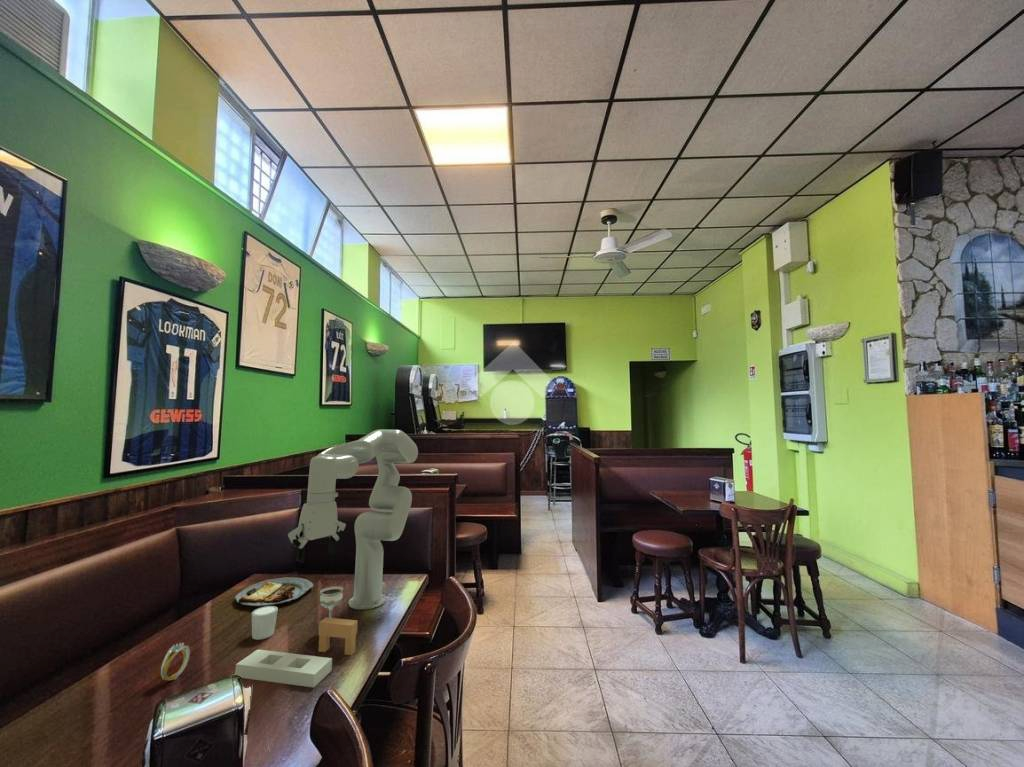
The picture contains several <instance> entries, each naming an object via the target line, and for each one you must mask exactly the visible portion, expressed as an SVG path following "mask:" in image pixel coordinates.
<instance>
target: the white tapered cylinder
mask: <svg viewBox="0 0 1024 767" xmlns="http://www.w3.org/2000/svg"><path fill="white" fill-rule="evenodd" d="M278 610H279V608H278V607H277V606H275V605H268V606H260V607H258V608H256V609H254V610H252V612H251V639H253V640H265V639H267V638H270V637H272V636H273V635H274V633H275V627H276V622H277V615H278Z"/></svg>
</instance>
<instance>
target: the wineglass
mask: <svg viewBox="0 0 1024 767" xmlns="http://www.w3.org/2000/svg"><path fill="white" fill-rule="evenodd" d="M343 590H344V587H342V586H341V585H340V586H339V585H333V586H332V585H331V586H326V587H324V588H322V589H320V591H319V592H320V596H319V597H318V598H319V603H320V605H321V606H322V607H323V608H325V609H327V610H328V618H332V614H333V613H332V612H333V609H334V608H335V607H337V606H339V605H340V603H341V602H342V600H343V597H344V592H343Z"/></svg>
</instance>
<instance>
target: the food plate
mask: <svg viewBox="0 0 1024 767" xmlns="http://www.w3.org/2000/svg"><path fill="white" fill-rule="evenodd" d="M313 587H314V583H313V582H311V581H310V580H309V579H306V578H301V577H297V576H296V577H295V576H293V577H290V576H288V577H285V576H284V577H280V578H270V579H267V580H266V579H265V580H261V581H260V582H257V583H254V584H250V585H249V586H247V587H245V588H244V589H242V590H241V591H239V592H238V593H237V594H236V595H235V596H234V601H235V602H236V604H239V605H241V606H245V607H246V606H247V607H249V606H250V607H256V608H257V607H258V608H261V607H266V606H275V605H280V604H284V603H285V604H287V603H289V602H291V601H292V600H293V601H295V600H297V599H298V598H300V597H301V598H302V596H303V595H304V594H306V593H307V592H308V591H309V590H310V589H311V588H313Z"/></svg>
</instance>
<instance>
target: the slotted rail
mask: <svg viewBox="0 0 1024 767" xmlns="http://www.w3.org/2000/svg"><path fill="white" fill-rule="evenodd" d="M332 669H333V658H332V657H323V656H316V655H307V654H300V653H299V654H298V653H291V652H283V651H274V650H266V649H256V650H254V651H253V652H252V653H251V654H249V655H247V656H246V657H244V658H243V659H242V660H240V661H239V662H237V663H236V664H235V674H234V676H235V675H238V676H240V677H241V678H240V679H248V680H256V681H261V682H262V681H263V682H270V683H276V684H283V685H284V684H286V685H292V686H300V687H307V688H316V686H317V685H318V684H319V683H321V682H322V681H323V680H324V679H325V677H326V676H328V674H329V673H331V672H332Z"/></svg>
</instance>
